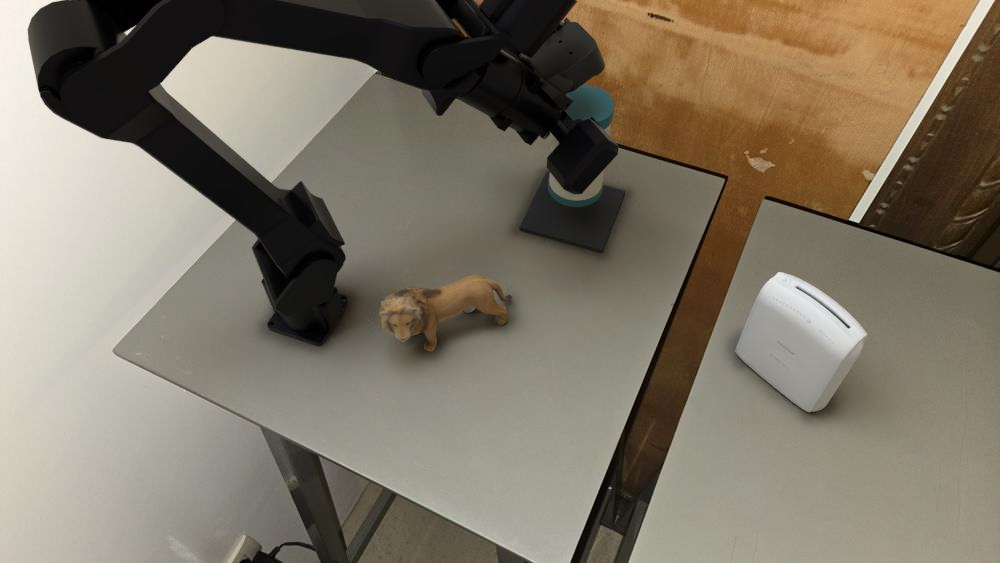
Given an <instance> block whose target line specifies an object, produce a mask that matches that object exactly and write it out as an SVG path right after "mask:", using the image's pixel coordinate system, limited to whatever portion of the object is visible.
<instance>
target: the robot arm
mask: <svg viewBox="0 0 1000 563" xmlns="http://www.w3.org/2000/svg"><path fill="white" fill-rule="evenodd" d="M577 3H578V0H482V1H481V3H479V2H477V1H476V0H56V1H52V2H50V3H47V4H46V5H44V6H42V7H40V8H39V9H38V10H37V11H36V12H35V13H34V15H32V17H31V18H30V20H29V24H28V26H27V40H28V45H29V51H30V56H31V61H32V66H33V71H34V75H35V81H36V85H37V90H38V93H39V97H40V99H41V100H42V102H43V104H44V105H45V106H46V107H47V109H49V110H50V111H51V113H53V114H54V115H56V116H57V117H59V118H61V119H62V120H64V121H66V122H69V123H70V124H72V125H74V126H76V127H78V128H80V129H82V130H84V131H86V132H88V133H90V134H91V135H94V136H96V137H97V138H100V139H103V140H108V141H115V142H122V143H129V144H132V145H134V146H136V147H138V148H140V149H141V150H142V151H144V152H145V153H146V154H147V155H149V156H150V157H152V158H153V159H154V160H156V161H157V162H159V163H160V164H161V165H162V166H163V167H165V168H166V169H168V170H169V171H170V172H171V173H173V174H174V175H176V176H177V177H178V178H179V179H181V180H182V181H183V182H185V183H186V184H188V185H189V187H191V188H193V189H194V190H195V191H196V192H198V193H199V194H201V195H202V196H203V197H205V199H207V200H209V201H210V202H211V203H212V204H214V205H215V206H217V207H218V208H219V209H220V210H222V211H223V212H224V213H226V214H227V215H228V216H230V217H231V218H232V219H234V220H235V221H236V222H238V223H239V224H240V225H242V226H243V227H244V228H246V229H247V230H248V231H249V232H251V233H252V234H253V235H255V237H256V238H257V240H256V241H255V242H254V243H253V245H252V247H251V251H252V253H253V256H254V258H255V260H256V263H257V266H258V268H259V271H260V273H261V276H262V279H261V285H262V287H263V290H264V291H265V294H266V296H267V299H268V301H269V303H270V306H271V308H272V311H273V314H272V315H271V316H270V319H269V320H268V322H267V324H266V326H267V329H268V330H270V331H273V332H276V333H279V334H283V335H285V336H288V337H291V338H294V339H297V340H300V341H303V342H306V343H309V344H312V345H315V346H321V345H322V344H323V343H324V342H325V341H326V339H327V337H328V336H329V334H330V333H331V331H333V330H334V329H335V328H336V326H337V324H338V322H339V321H340V319H341V318H342V316H343V314H344V312H345V308H346V306H347V305H348V303H349V297H348V296H347V295H345V294H342V293H340V292H339V290H338V287H337V286H336V287H335V285H336V280H337V278H338V277H337V276H338V273H340V271H341V269H342V268H343V267H344V263H345V262H346V260H347V256H346V254H345V251H344V249H343V248H342V247H343V246H345V245H346V242H345V240H344V237H343V236H342V235H341V232H340V230H339V228H338V227H337V225H336V222H335V220H334V219H333V217H332V215H331V212H330V210H329V209H328V206H327V204H326V203H325V200H324V198H322V197H319V196H316V195H315V194H313V193H312V192H311V191H310V190H309V188H307V186H306V185H305V183H304V182H303V180H300V181H299V182H298V183H296V184H295V185H294V187H293V188H291V189H287V188H286V189H285V188H280V187H277V186H276V185H275V184H273V183H272V182H271V181H270V180H268V179H267V178H266V177H265V176H264V175H263V174H262V173H260V171H258V170H257V169H256V168H255V167H254V166H252V165H251V164H250V163H249V162H248V161H247V160H246V159H244V158H243V157H242V156H241V155H240V154H238V153H237V152H236V151H235V150H234V149H233V148H232V147H230V145H228V144H227V143H226V142H225V141H224V140H223V139H221V138H220V137H219V136H218V135H217V134H216V133H214V131H212V129H210V128H208V126H206V125H205V124H204V123H203V122H202V121H201V120H199V119H198V118H197V117H196V116H195V115H194V114H193V113H191V112H190V111H189V110H188V109H187V108H186V107H185V106H184V105H183V104H181V103H180V102H179V101H178V100H176V99H175V98H174V97H173V96H172V95H171V94H170V93H169V92H168V91H166V89H165V88H164V87H163V85H162V83H163V82H164V81H165V80H166V78H168V77H169V75H170V74H171V73H172V72H173V70H174V69H175V68H176V67H177V66H178V65H179V64H180V62H182V60H183V59H184V58H185V57H186V56H187V55H188V54H189V52H190V51H191V50H192V49H193V48H195V47H197V46H198V45H200V44H202V43H203V42H205V41H207V40H209V39H210V38H211V37H212V38H220V39H224V40H225V39H226V40H232V41H237V42H243V43H251V44H255V45H262V46H266V47H267V46H268V47H273V48H274V47H275V48H280V49H286V50H293V51H297V52H298V51H299V52H305V53H311V54H317V55H323V56H330V57H335V58H340V59H347V60H353V61H356V62H359V63H361V64H365V65H366V66H369V67H371V68H373V70H375V71H377V72H379V73H381V74H382V75H384V76H386V77H388V78H389V79H391V80H393V81H396V82H399V83H402V84H404V85H407V86H409V87H413V88H415V89H418V90H421V94H422V96H423V97H424V99H425V100H426V102H427V104H428V105H429V106H430V108H431V109H432V110H433V112H434V114H435V115H436V116H438V117H442V116H443V115H444V114H445V113H446V112H447V111H448V109H449V108H450V106H452V104H453V103H454V101H455V100H458V101H460V102H462V103H464V104H465V105H468V106H469V107H472V108H473V109H475V110H477V111H479V112H481V113H482V114H484V115H486V116H488V118H489V119H490V120H491V121H492V122H493V124H494V125H495V127H496V128H497V129H499V130H500V131H502V132H506V131H507V130H508V128H510V129H512V130H514V131H515V132H516V133H517V134H518V136H519V137H520V138H521V140H522V141H523V142H524V143H525V144H527V145H529V146H532V145H533V144H534V143H535V142H536V141H537V139H538V138H539V137H540V138H541V139H542V140H547V139H548V137H549V136H551V135H552V134H553V136H554V137H555V138H556V139H557V141H558V142H559V143H558V146H557V147H556V148H555V149H554V150H553V151H552V153H551V152H550V153H549V155H548V156H547V157H546V169H547V171H550V173H551V174H552V175H553V176H554V178H555V179H556V180H557V182H558V183H559V184H560V185H561V187H562V188H563V189H564V190H566V191H568V192H570V193H572V194H574V195H578V194H582V193H583V192H584V191H585V190H586V189H587V188H588V186H589V185H590V184H591V183H592V182H593V181H594V180H595V179H596V178H597V177H598V176H599V174H600V173H601V172H602V171H603V170H604V171H605V169H606V168H607V167H608V166H609V165H610V163H611V162H613V160H614V159H615V158H616V157H617V156H618V155H619V147H620V145H618V143H617V142H616V141H615V140H614V139H613V138H612V137H611V135H610V134H609V135H608V133H607V132H606V131H605V130H604V129H603V128H602V127H601V126H600V125H599V124H598V122H597V121H596V120H595V119H594V118H593V117H591V118H589V119H586V120H582V119H576V120H573V118H572V117H571V116H570V115H569V114H568V113H567V112H566V110H567V108H568V107H569V106H570V105H571V104H572V103H573V101H574V100H573V99H572V98H571V97H570V96H569V95H568V94H567V93H569V92H573V91H575V90H576V89H577V88H579V87H580V86H581V85H585V84H586V83H587V82H589V81H590V80H591V79H593V78H594V77H597V76H599V75H600V74H601V73H602V72H603V71H604V70H605V68H606V63H605V60H604V57H603V55H602V53H601V50H600V48H599V45H598V43H597V41H596V40H595V39H594V37H593V36H592V35H591V34H590V33H589V32H588V31H587V30H586V29H585V28H584V27H583V26H582V25H581V24H580V23H579V22H577V21H571V20H570V19H569V18H568V17H567V15H568V14H569V13H570V12H571V10H572V9H573V8H574V7H575V5H576V4H577ZM454 21H455V22H454ZM562 21H563V22H562ZM456 23H457V24H456ZM457 25H458V26H459V27H458V26H457ZM129 30H130V31H129ZM461 30H462V31H461ZM128 31H129V32H128ZM126 32H128V33H126ZM463 32H464V33H463ZM559 120H560V121H561V122H562V123H563V125H565V127H566V128H567V130H569V131H567V130H566V129H565V127H564V126H563V125H562V124H561V123H560V122H559ZM550 134H551V135H550Z"/></svg>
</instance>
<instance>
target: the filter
mask: <svg viewBox="0 0 1000 563" xmlns="http://www.w3.org/2000/svg"><path fill="white" fill-rule="evenodd" d="M567 94H568V95H569V96H570V97H571V98H572V99H573V100H574V101H573V103H572V104H571V105H570V106H569V107H568V108H567V110H566V112H567V113H568V114H569V115H570V116H571V117H572V118H573V120H576V119H582V120H586V119H589V118H591V117H593V118H594V119H595V120H596V121H597V122H598V124H599V125H600V126H601V127H602V128H603V129H604V130H605V131H606V132H607V133H608V135H609V136H610V134H611V126H612V122H613V119H614V113H615V112H614V111H615V101H614V99H613V97H612V95H610V93H609V92H607V91H606V90H605V89H603V88H600V87H598V86H595V85H592V84H583V85H581V86H580V87H579V88H577V89H576V90H575V91H573V92H569V93H567ZM559 122H560V123H561V124H562V125H563V123H562V122H561V121H560V120H559ZM563 126H564V127H565V125H563ZM565 129H566V130H567V128H566V127H565ZM567 131H569V130H567ZM558 143H559V142H558V141H557V139H556V138H555V137H554V136H553V134H552V133H551V146H550V148H551V149H550V154H551V153H552V151H553V150H554V149H555V148H556V147H557V146H558ZM604 175H605V169H604V170H603V171H602V172H601V173H600V174H599V176H598V177H597V178H596V179H595V180H594V181H593V182H592V183H591V184H590V185H589V186H588V188H587V189H586V190H585V191H584V192H583V193H582V194H578V195H574V194H572V193H570V192H568V191H566V190H564V189H563V188H562V187H561V185H560V184H559V183H558V182H557V180H556V179H555V178H554V176H553V175H552V174H551V173H550V176H549V179H548V190H549V193H550V195H551V196H552V198H553V199H554V200H556V201H557V202H559V203H561V204H563V205H566V206H569V207H584V206H588V205H590V204H592V203H594V202H595V201H597V200H598V199H599V197H600V196H601V194H602V189H603V185H604Z"/></svg>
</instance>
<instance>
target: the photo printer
mask: <svg viewBox="0 0 1000 563" xmlns="http://www.w3.org/2000/svg"><path fill="white" fill-rule="evenodd" d="M867 338H868V333H867V331H866V330H865V329H864V328H863V327H862V325H861V324H860V323H859V322H858V320H856V318H855V317H854V316H852V315H851V313H850V312H848V311H847V310H846V309H845V308H844V307H843V306H842V305H841V304H839V303H838V302H837V301H835V299H833V298H832V297H831V296H829V295H827V294H826V293H824V291H822V290H821V289H819V288H817V287H816V286H815V285H812V284H810V283H809V282H807V281H806V280H804V279H801V278H799V277H798V276H795V275H793V274H789V273H786V272H782V271H778V272H776V274H775V275H774V276H772V277H771V278H770V279H768V280H767V282H765V284H764V285H762V287H761V289H760V291H759V292H758V295H757V297H756V299H755V301H754V303H753V305H752V308H751V310H750V314H749V315H748V318H747V320H746V322H745V325H744V327H743V330H742V332H741V334H740V336H739V339H738V341H737V344H736V347H735V350H734V351H735V354H736V355H737V356H738V357H739V359H740V360H742V362H744V363H745V364H746V365H747V366H748V367H749V368H750V369H751V370H753V371H754V372H755V373H756V374H757V375H758V376H760V378H762V379H763V380H764V381H766V382H767V383H768V384H770V386H772V387H773V388H774V389H775V390H777V391H778V392H779V393H780V394H782V395H783V396H784V397H786V398H787V399H788V400H789V401H791V402H792V403H793V404H795V405H796V406H797V407H798V408H800V409H802V410H803V411H805V412H806V413H811V412H812V413H814V412H815V413H816V412H819V411H821V410H823V409H824V408H826V406H827V405H828V404H829V402H830V401H831V399H832V397H833V396H834V395H835V393H836V392H837V390H838V389H839V387H840V385H841V384H842V383H843V381H844V379H845V378H846V376H847V375H848V373H849V371H851V368H852V367H853V366H854V364H855V363H856V361H857V359H858V358H859V356H861V353H862V351H863V348H864V344H865V342H866V340H867Z"/></svg>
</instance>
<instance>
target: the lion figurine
mask: <svg viewBox="0 0 1000 563" xmlns="http://www.w3.org/2000/svg"><path fill="white" fill-rule="evenodd" d="M494 291H495V292H494ZM495 294H496V295H497V296H498V298H499V299H500V301H501V302H502V303H510V302H511V300H512V299H513V296H512V294H507V295H505V294H504V291H503V289H502V287H501V286H500V285H499V283H497V282H496V281H495V280H493V279H489V278H487V277H486V276H484V275H480V274H470V275H466V276H464V277H462V278H460V279H458V280H456V281H455V282H452V283H449V284H446V285H442V286H438V287H435V288H432V289H431V288H428V287H425V288H424V287H415V286H414V287H412V288H411V287H405V288H404V289H399V290H397V291H392V292H391V293H390V294H388V295H387V296H386V297H385V299H384V300H382V301H381V302H380V303H381V304H380V308H379V313H378V316H379V317H380V325H381V328H382V331H384V332H385V333H387V334H390V335H391V336H395V339H397V340H399V341H400V342H407V340H409V339H410V338H411V337H412V336H417V335H419V334H421V333H423V334H424V336H425V337H426V341H425V342H424V343H423V347H424V348H423V349H424V350H425V351H427V352H430V353H431V352H432V353H433V352H434V351H435V350H436V348H437V346H438V340H437V339H438V338H437V329H438V328H439V322H440V321H444V320H447V319H450V318H453V317H455V316H457V315H459V314H461V313H462V312H464V313H466V314H468V313H473V312H474V311H475V310H478V311H479V312H482V313H483V314H487V315H494V316H495V315H496V316H495V319H494V322H495V323H497V325H500V326H502V325H505V324H506V323H507V322H508V319H509V318H508V317H509V315H508V312H507V307H506V306H505V305H501V304H499V303H498V302H497V300H496V297H495Z"/></svg>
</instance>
